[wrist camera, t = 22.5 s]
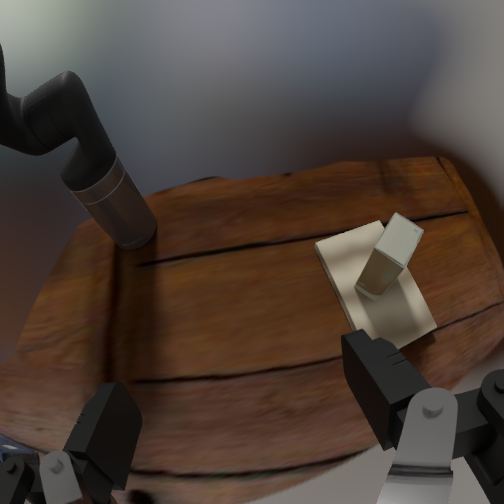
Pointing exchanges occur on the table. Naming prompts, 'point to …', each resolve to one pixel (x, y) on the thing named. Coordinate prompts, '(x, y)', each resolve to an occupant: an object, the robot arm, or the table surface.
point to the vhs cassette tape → (16, 451)
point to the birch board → (363, 308)
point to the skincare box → (389, 257)
